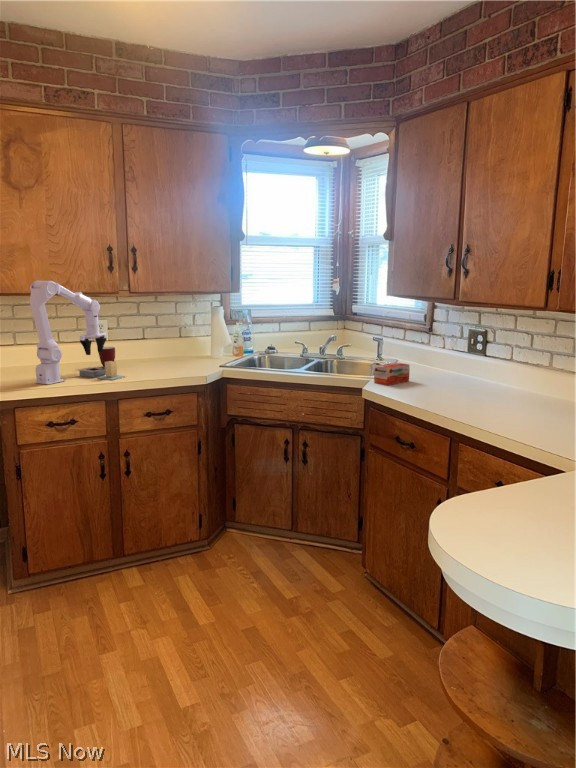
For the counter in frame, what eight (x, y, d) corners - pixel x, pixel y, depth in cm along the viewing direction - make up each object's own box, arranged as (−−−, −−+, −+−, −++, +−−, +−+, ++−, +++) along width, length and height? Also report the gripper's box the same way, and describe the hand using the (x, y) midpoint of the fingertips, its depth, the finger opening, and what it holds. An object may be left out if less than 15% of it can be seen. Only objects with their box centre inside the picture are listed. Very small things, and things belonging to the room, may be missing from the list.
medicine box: (395, 378, 252) (395, 361, 251) (409, 381, 246) (410, 364, 244) (373, 383, 243) (373, 365, 241) (387, 386, 237) (388, 367, 235)
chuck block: (94, 378, 251) (93, 371, 251) (79, 376, 255) (79, 370, 255) (108, 374, 259) (108, 368, 259) (94, 373, 263) (93, 367, 263)
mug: (105, 364, 286) (104, 345, 284) (120, 365, 285) (119, 346, 283) (96, 368, 276) (95, 348, 274) (112, 368, 275) (110, 349, 273)
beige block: (111, 377, 250) (110, 362, 249) (105, 377, 252) (104, 362, 250) (117, 376, 253) (116, 361, 252) (111, 375, 255) (110, 361, 253)
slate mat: (112, 380, 247) (112, 379, 247) (97, 378, 251) (97, 377, 250) (126, 376, 255) (126, 376, 254) (111, 375, 258) (111, 374, 258)
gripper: (86, 327, 251) (89, 356, 253) (109, 324, 263) (111, 352, 266) (75, 326, 254) (77, 355, 256) (98, 323, 266) (100, 351, 269)
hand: (94, 353), depth 261 cm, fingers open, 7 cm apart
